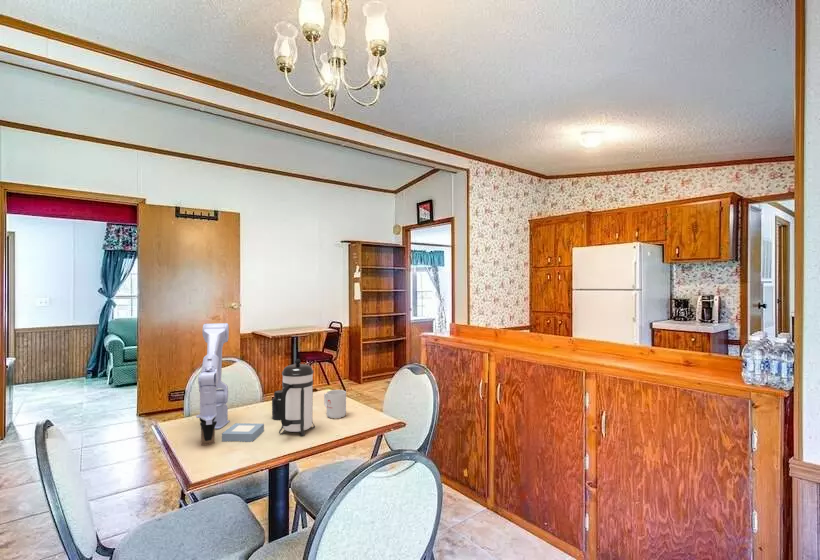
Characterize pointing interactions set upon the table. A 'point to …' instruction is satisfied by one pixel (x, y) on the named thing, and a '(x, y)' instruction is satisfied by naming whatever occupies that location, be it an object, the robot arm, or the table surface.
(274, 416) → the supplement bottle
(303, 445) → the table surface
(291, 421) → the coffee press
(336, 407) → the mug
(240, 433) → the slate plinth
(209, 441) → the walnut block
